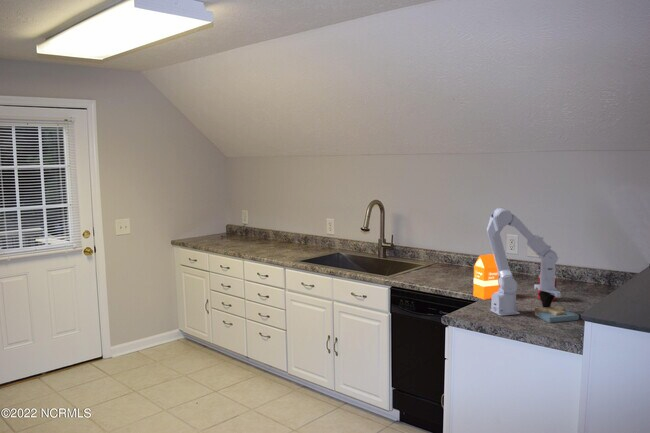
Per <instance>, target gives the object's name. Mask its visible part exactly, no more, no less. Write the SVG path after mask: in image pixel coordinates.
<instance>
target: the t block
mask: <svg viewBox="0 0 650 433" xmlns="http://www.w3.org/2000/svg"><path fill="white" fill-rule="evenodd" d="M563 310H566V307H563V306H561V305H558V306H557V305H556V306H550V307H543V306H542V307H535V308H534V316H536V317H538V313H540V312H548V313H551V314H553V315H555V316H560V315H565V312H564V311H563Z"/></svg>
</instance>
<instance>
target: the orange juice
mask: <svg viewBox="0 0 650 433" xmlns="http://www.w3.org/2000/svg"><path fill="white" fill-rule="evenodd" d="M499 288H500V286H499V285H498V270H497V266H496V263H495V259H494V256H493V253H492V254H491V253H490V254H480V255H479V256H478V258H477V260H476V262H475V264H474V265H473V297H475V298H476V297H477V298H478V299H481V300H491V298H492V294H493V293H496V292H498V289H499Z"/></svg>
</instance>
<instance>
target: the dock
mask: <svg viewBox="0 0 650 433" xmlns="http://www.w3.org/2000/svg"><path fill="white" fill-rule="evenodd" d="M563 311H564V312H565V315H560V316H555V315H553V314H551V313H548V312H540V313H538V316H537V318H539V319H541V320H543V321H545V322H548V323H558V322H560V323H562V322H569V321H578V320H579V319H580V315H579V314H578V313H575V312H572V311H569V310H567V309H565V310H563Z"/></svg>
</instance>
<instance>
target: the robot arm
mask: <svg viewBox="0 0 650 433" xmlns="http://www.w3.org/2000/svg"><path fill="white" fill-rule="evenodd" d="M506 226H511V227H514V228H515V230H516V231H518V233H520V234H521V235H522V236H523V237H524V238H525V239H526V245H527V246H528V247H529V248H530V249H531V250H532V251H533V252H534V253H535V254H536V255H537V256H538V258H539V259H540V271H539V272H540V274H539V275H540V285H539V284H538V283H537V284H535V283H534V285H533V286H534V288H533V289H534V290H537V291H538V290H540V291H541V293H538V292H537V296H538V295H539V296H540V298H541V300H540V301H541V304H542V308H543V307H552V306H551V305H552V303H553V302H554V301H553V299H554V297H556V298H561V297H562V293H561V292H560V291H559V290H558V289H557V287H556V288H555V276H556V263H558V261H559V257H558V254H557V252H556V251H554V249H553V250H552V249H551V248H552V246H551V245H548V244H547V243H546V242H545V241H544V237H543V236H541V235H539V234H537V235H536V234H533V233H532V232H531V230H529V228H528V227H527V226H526V225H525V224H524V223H523V222H522V221H521V219H519V218H518V217H517V215H515V214H513V213H512V211H511V210H509V209H506V208H504V207H497V208H495V209H494V210H493V211H492V213H491V214H490V217H489V221H488V224H487V227H486V234H487V237H488V240H489V245H490V247H491V251H492V254H493V256H494V259H495V263H496V266H497V270H498V285H499V289H498V292H496V293H493V294H492V298H491V299H490V300H491V304H490V306H491V307H490V309H489V310H490V312H492V313H494V314H496V315H498V316H500V317H501V316H511V315H520V314H521V312H519V311H517V290H518V282H517V281H516V280H515V279H514V276H513V273H512V271H511V269H510V266H509V263H508V258H507V255H506V251H505V248H504V244H503V240H502V236H501V234H500V233H501V232H502V231H503V230H504V228H505V227H506Z"/></svg>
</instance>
